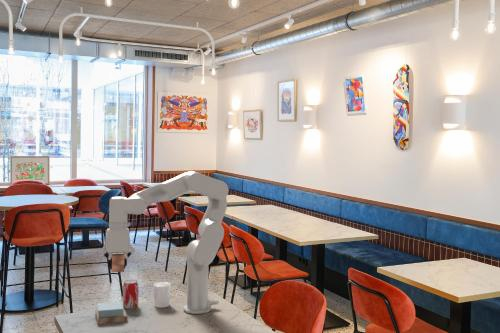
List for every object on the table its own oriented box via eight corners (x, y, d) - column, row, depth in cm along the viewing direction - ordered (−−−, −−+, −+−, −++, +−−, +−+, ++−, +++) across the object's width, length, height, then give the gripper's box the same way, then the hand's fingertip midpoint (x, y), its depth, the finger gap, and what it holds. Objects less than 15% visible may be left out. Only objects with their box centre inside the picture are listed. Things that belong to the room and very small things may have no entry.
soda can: (134, 310, 234) (134, 284, 233) (119, 309, 235) (120, 282, 235) (140, 305, 241) (141, 279, 240) (126, 304, 242) (126, 278, 242)
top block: (122, 308, 229) (122, 301, 229) (123, 315, 220) (123, 308, 220) (98, 310, 227) (98, 303, 226) (98, 317, 217) (98, 310, 217)
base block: (123, 313, 231) (123, 307, 231) (127, 323, 220) (127, 316, 220) (95, 316, 227) (95, 310, 227) (97, 326, 216) (97, 319, 215)
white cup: (174, 304, 243) (174, 283, 242) (162, 309, 236) (162, 287, 235) (161, 301, 247) (161, 281, 246) (149, 306, 240) (149, 284, 240)
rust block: (122, 268, 226) (122, 252, 225) (124, 271, 221) (124, 255, 221) (110, 269, 224) (110, 253, 223) (112, 272, 219) (112, 256, 219)
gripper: (136, 223, 228) (136, 265, 229) (96, 225, 222) (95, 267, 223) (139, 226, 221) (138, 269, 222) (98, 227, 215) (97, 271, 216)
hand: (117, 267), depth 222 cm, fingers closed on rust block, 5 cm apart
